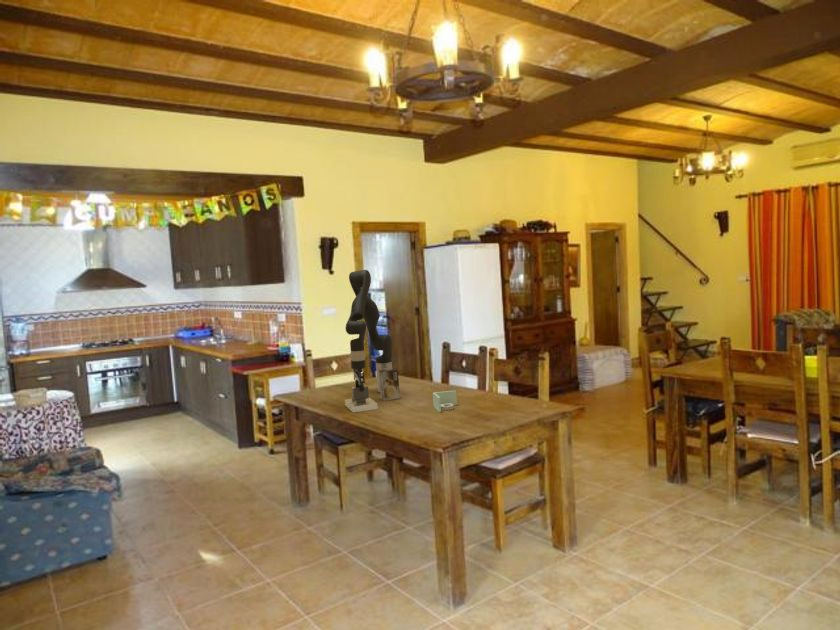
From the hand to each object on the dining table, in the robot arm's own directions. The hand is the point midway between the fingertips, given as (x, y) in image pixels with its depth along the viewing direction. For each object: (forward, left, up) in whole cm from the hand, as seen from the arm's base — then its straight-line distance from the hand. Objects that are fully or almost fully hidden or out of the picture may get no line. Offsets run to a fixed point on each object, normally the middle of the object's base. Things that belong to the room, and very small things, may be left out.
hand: (359, 390), depth 312 cm
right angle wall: (-38, +26, -10) cm, 47 cm away
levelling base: (0, -1, -9) cm, 9 cm away
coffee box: (-19, -11, -10) cm, 24 cm away
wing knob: (0, 0, -6) cm, 6 cm away
